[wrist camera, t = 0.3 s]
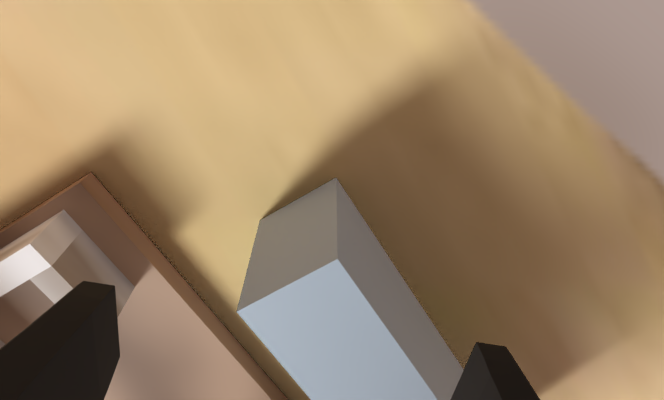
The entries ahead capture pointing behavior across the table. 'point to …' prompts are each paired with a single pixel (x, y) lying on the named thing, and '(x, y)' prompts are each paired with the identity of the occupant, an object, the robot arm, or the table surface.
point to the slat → (341, 307)
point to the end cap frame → (123, 299)
